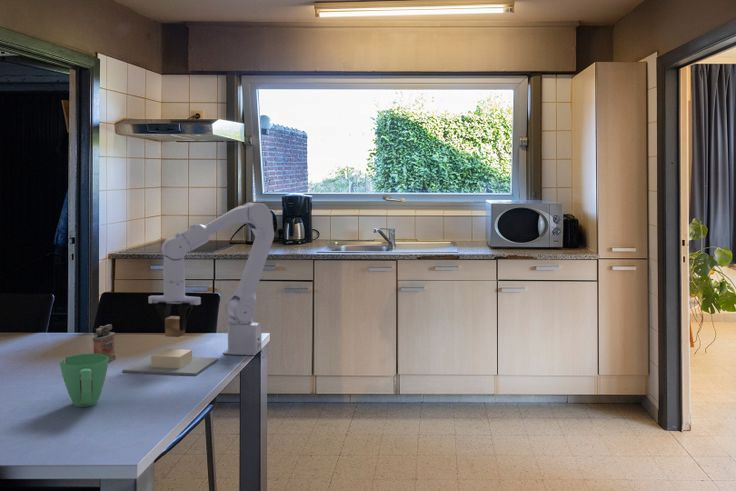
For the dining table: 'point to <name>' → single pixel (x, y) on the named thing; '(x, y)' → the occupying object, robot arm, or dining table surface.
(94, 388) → the mug
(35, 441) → the dining table surface
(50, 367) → the dining table surface
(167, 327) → the walnut block
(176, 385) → the dining table surface
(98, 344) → the lighter
